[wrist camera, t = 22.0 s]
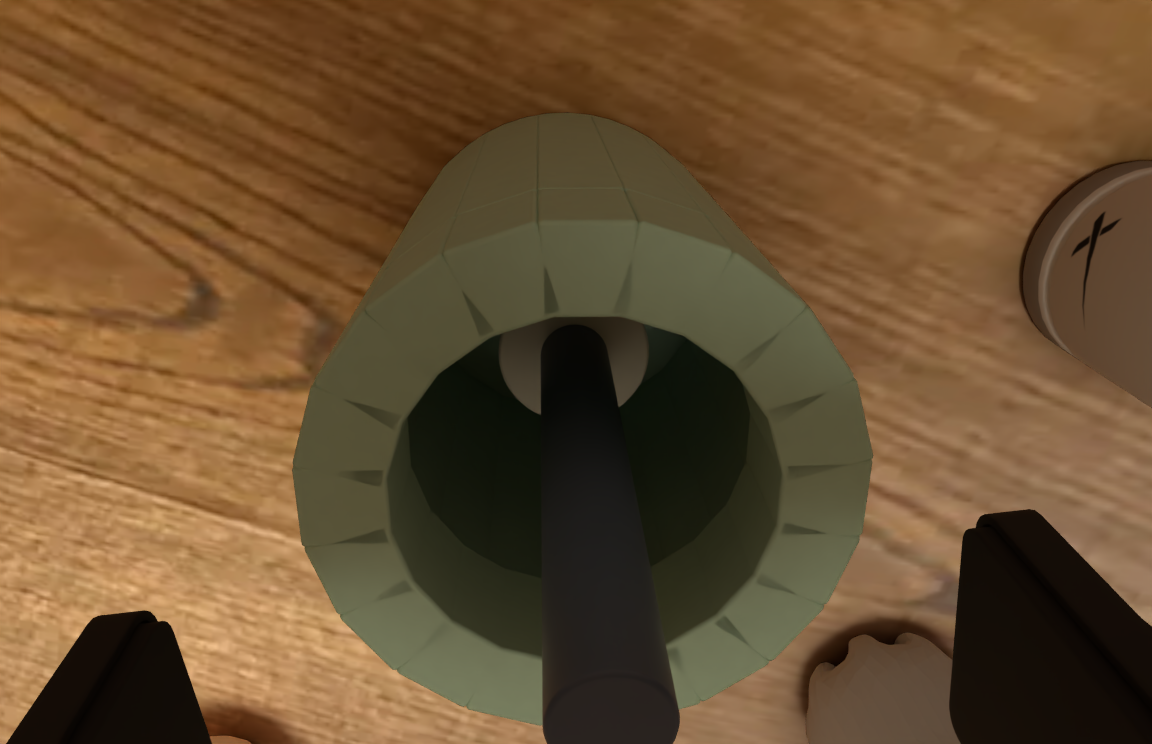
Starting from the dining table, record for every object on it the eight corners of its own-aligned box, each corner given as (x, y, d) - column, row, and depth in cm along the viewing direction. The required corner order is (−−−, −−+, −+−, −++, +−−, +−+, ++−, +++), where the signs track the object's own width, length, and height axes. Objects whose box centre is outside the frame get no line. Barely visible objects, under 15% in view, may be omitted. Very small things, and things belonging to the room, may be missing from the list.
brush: (481, 270, 27) (390, 706, 10) (580, 199, 26) (653, 541, 10) (553, 361, 28) (576, 884, 11) (650, 295, 27) (822, 749, 11)
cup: (344, 238, 27) (168, 452, 14) (600, 43, 25) (665, 85, 12) (532, 461, 30) (528, 804, 17) (773, 301, 28) (969, 551, 15)
